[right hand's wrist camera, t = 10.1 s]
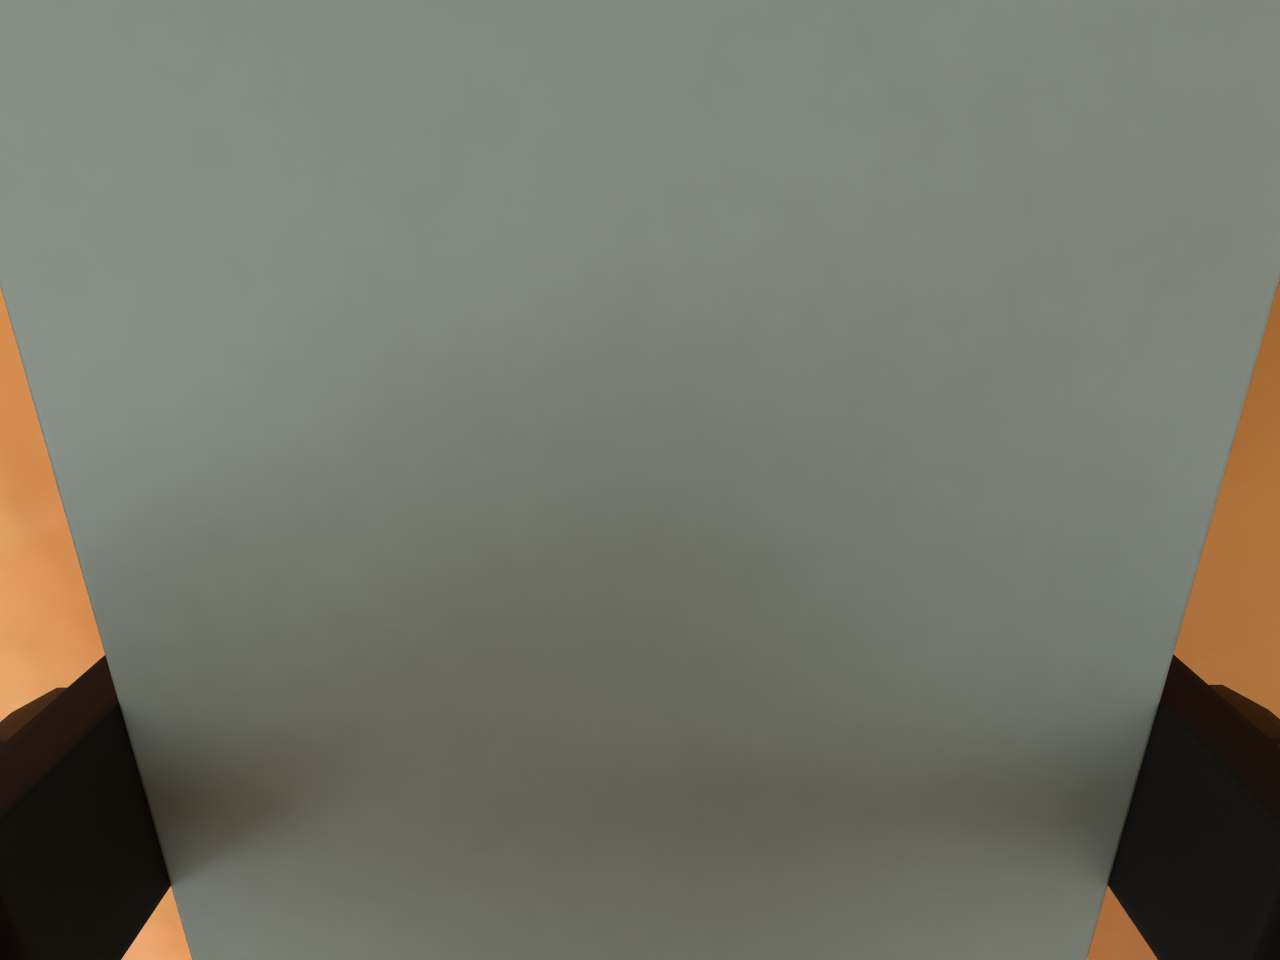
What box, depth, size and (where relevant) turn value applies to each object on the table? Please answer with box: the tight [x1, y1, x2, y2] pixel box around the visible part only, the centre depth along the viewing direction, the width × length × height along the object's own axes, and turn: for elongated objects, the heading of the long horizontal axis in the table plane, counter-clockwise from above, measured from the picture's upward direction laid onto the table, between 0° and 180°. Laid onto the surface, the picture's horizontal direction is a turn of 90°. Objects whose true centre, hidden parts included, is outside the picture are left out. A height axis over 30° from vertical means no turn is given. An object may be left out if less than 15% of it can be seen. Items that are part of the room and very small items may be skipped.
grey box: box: [0, 0, 1280, 960], centre depth 13 cm, size 13×12×11 cm
